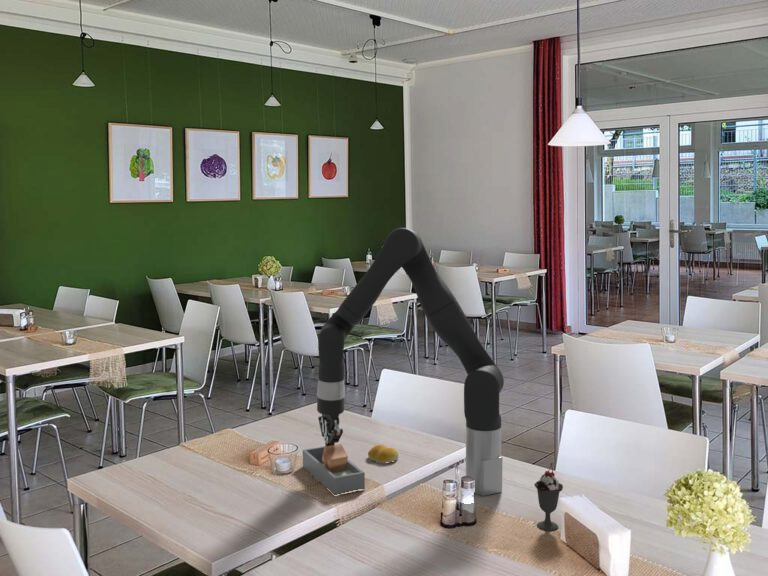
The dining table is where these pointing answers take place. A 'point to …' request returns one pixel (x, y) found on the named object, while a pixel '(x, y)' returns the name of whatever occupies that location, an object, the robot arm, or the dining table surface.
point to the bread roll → (382, 454)
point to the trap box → (333, 473)
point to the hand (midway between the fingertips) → (329, 454)
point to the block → (334, 458)
